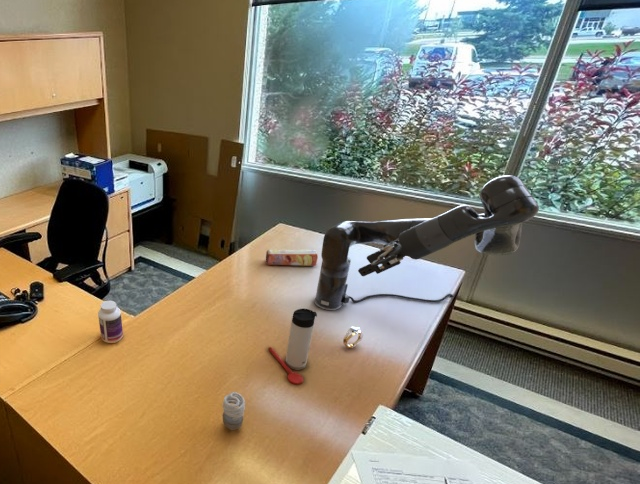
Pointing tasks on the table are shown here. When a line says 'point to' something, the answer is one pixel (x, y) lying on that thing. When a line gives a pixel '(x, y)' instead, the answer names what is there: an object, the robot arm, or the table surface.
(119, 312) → the pill bottle
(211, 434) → the table surface
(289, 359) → the travel mug
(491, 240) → the robot arm
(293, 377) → the spoon
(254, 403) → the table surface
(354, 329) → the ring
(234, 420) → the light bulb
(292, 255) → the snack package
